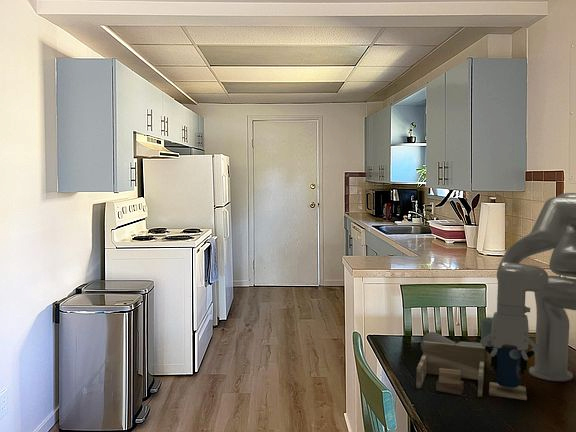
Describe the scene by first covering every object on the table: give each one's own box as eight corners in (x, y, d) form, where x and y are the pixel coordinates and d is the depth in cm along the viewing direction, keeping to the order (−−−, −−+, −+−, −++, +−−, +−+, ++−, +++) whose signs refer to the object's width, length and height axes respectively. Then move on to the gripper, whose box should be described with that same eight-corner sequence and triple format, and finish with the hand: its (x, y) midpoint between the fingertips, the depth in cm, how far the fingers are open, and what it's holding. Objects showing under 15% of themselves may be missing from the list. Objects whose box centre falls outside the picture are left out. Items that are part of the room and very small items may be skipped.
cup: (476, 344, 219) (477, 317, 219) (493, 342, 222) (494, 316, 221) (489, 349, 212) (490, 322, 211) (507, 348, 214) (508, 321, 214)
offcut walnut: (439, 387, 173) (439, 377, 173) (463, 391, 170) (463, 381, 170) (436, 391, 169) (436, 381, 169) (460, 395, 166) (461, 385, 166)
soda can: (523, 389, 165) (525, 348, 164) (497, 388, 166) (499, 346, 165) (517, 381, 172) (519, 341, 171) (493, 379, 173) (494, 340, 172)
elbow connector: (418, 364, 190) (482, 370, 184) (419, 331, 191) (483, 337, 186) (420, 360, 207) (479, 366, 201) (421, 330, 208) (480, 335, 203)
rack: (422, 371, 186) (423, 340, 185) (483, 379, 180) (484, 347, 179) (416, 388, 171) (417, 354, 170) (482, 396, 165) (483, 362, 164)
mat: (489, 383, 176) (489, 381, 176) (525, 388, 172) (525, 386, 172) (489, 395, 166) (489, 393, 166) (526, 400, 163) (526, 398, 163)
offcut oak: (439, 378, 172) (439, 368, 172) (460, 380, 171) (460, 370, 170) (438, 382, 168) (439, 372, 168) (460, 384, 167) (460, 374, 167)
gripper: (542, 310, 168) (540, 370, 169) (479, 305, 174) (477, 363, 175) (544, 315, 161) (541, 378, 162) (478, 310, 167) (476, 370, 168)
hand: (508, 370), depth 169 cm, fingers closed on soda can, 7 cm apart
